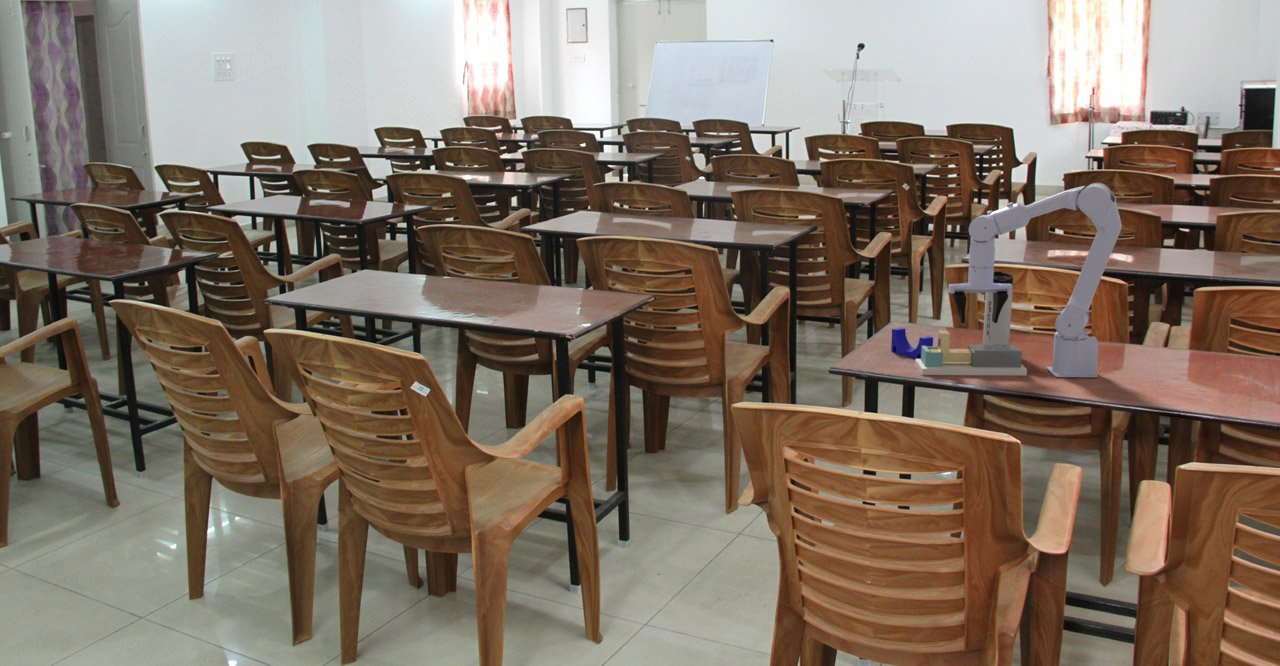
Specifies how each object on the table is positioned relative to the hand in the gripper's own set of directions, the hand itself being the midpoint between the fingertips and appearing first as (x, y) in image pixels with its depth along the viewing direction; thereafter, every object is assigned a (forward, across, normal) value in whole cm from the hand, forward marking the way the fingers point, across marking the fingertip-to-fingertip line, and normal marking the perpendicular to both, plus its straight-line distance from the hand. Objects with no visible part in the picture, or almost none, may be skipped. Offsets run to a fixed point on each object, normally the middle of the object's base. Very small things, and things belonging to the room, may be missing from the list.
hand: (978, 322), depth 268 cm
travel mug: (+10, -7, -12) cm, 17 cm away
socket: (+9, +12, +6) cm, 16 cm away
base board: (+10, +3, +6) cm, 12 cm away
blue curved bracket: (+11, +14, -8) cm, 19 cm away
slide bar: (+8, +5, +6) cm, 11 cm away
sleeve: (+9, -3, +6) cm, 11 cm away
